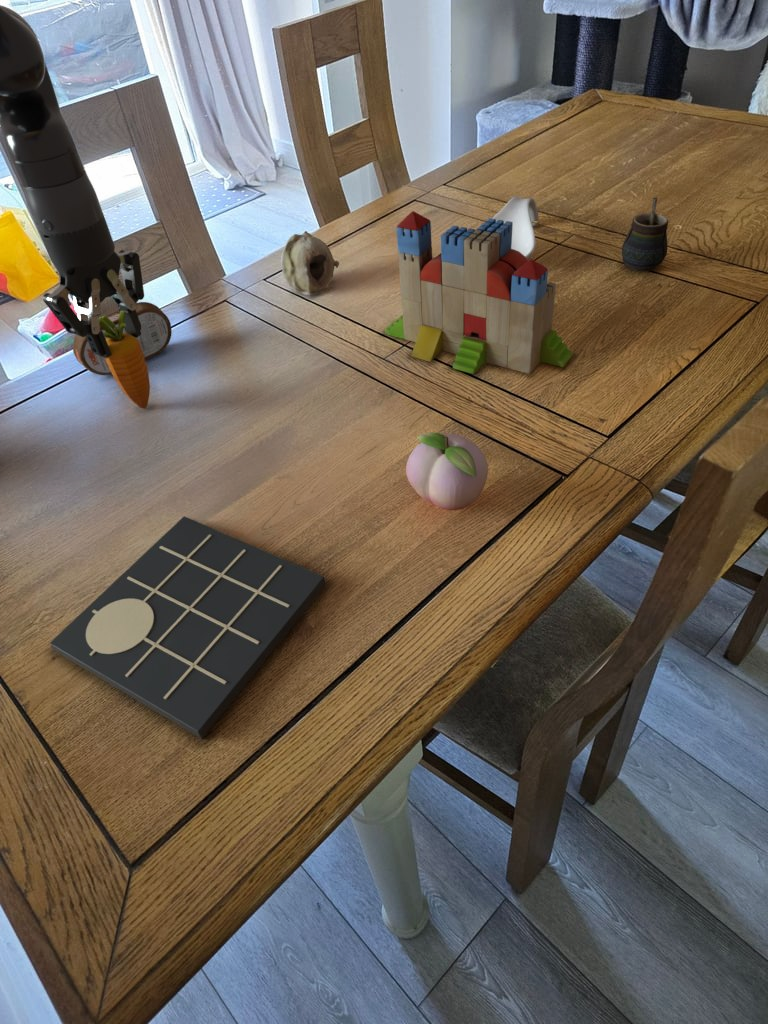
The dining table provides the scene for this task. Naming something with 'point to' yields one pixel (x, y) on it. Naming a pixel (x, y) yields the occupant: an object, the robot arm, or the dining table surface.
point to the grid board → (190, 623)
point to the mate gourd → (646, 241)
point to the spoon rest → (521, 223)
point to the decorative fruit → (447, 470)
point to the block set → (475, 298)
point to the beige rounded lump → (307, 264)
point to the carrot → (127, 361)
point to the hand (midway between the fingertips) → (119, 345)
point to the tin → (150, 340)
